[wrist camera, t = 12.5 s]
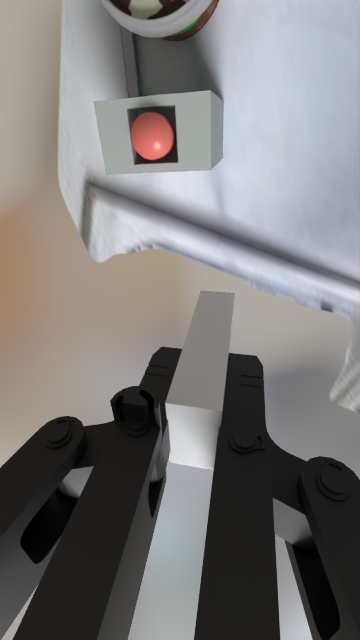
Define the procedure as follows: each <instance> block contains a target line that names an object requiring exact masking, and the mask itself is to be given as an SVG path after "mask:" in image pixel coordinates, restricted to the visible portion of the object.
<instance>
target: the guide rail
mask: <svg viewBox="0 0 360 640" xmlns="http://www.w3.org/2000/svg"><path fill="white" fill-rule="evenodd" d="M120 30H121V39H122V47H123V55H124V63H125V71H126V79H127V88H128V96H129V98H135V97H141V94H140V85H139V75H138V66H137V56H136V46H135V37H134V33H133V32H131V31H129V30H128V29H126V28H125V27H123V26H122V25H120Z"/></svg>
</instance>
